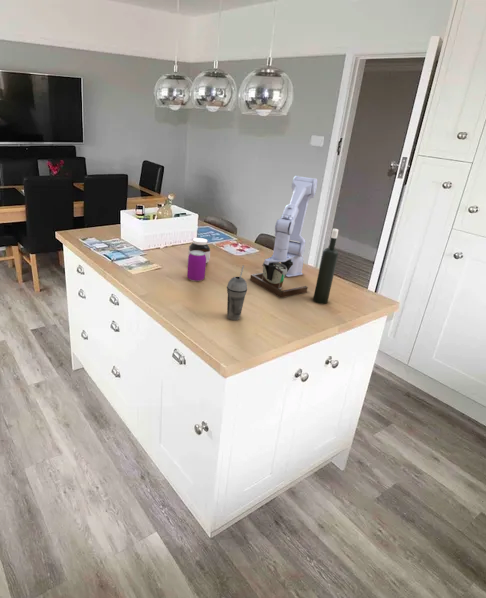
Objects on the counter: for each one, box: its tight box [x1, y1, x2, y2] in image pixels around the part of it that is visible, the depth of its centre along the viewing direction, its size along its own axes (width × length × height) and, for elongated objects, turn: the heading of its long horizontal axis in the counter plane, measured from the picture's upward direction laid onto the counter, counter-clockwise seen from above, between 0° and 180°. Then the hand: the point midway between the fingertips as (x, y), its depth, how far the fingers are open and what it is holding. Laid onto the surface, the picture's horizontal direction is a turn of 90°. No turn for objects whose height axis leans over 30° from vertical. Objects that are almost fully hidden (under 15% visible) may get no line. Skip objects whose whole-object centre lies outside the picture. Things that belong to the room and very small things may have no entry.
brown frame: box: [249, 272, 309, 298], centre depth 180 cm, size 15×20×2 cm
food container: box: [261, 262, 287, 291], centre depth 178 cm, size 12×6×10 cm, turn 36°
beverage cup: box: [226, 265, 248, 321], centre depth 146 cm, size 7×7×20 cm
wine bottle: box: [312, 228, 340, 305], centre depth 163 cm, size 6×6×30 cm
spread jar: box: [187, 237, 211, 265], centre depth 196 cm, size 12×11×12 cm
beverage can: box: [186, 250, 207, 283], centre depth 179 cm, size 8×8×12 cm
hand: (276, 278), depth 178 cm, fingers open, 7 cm apart
